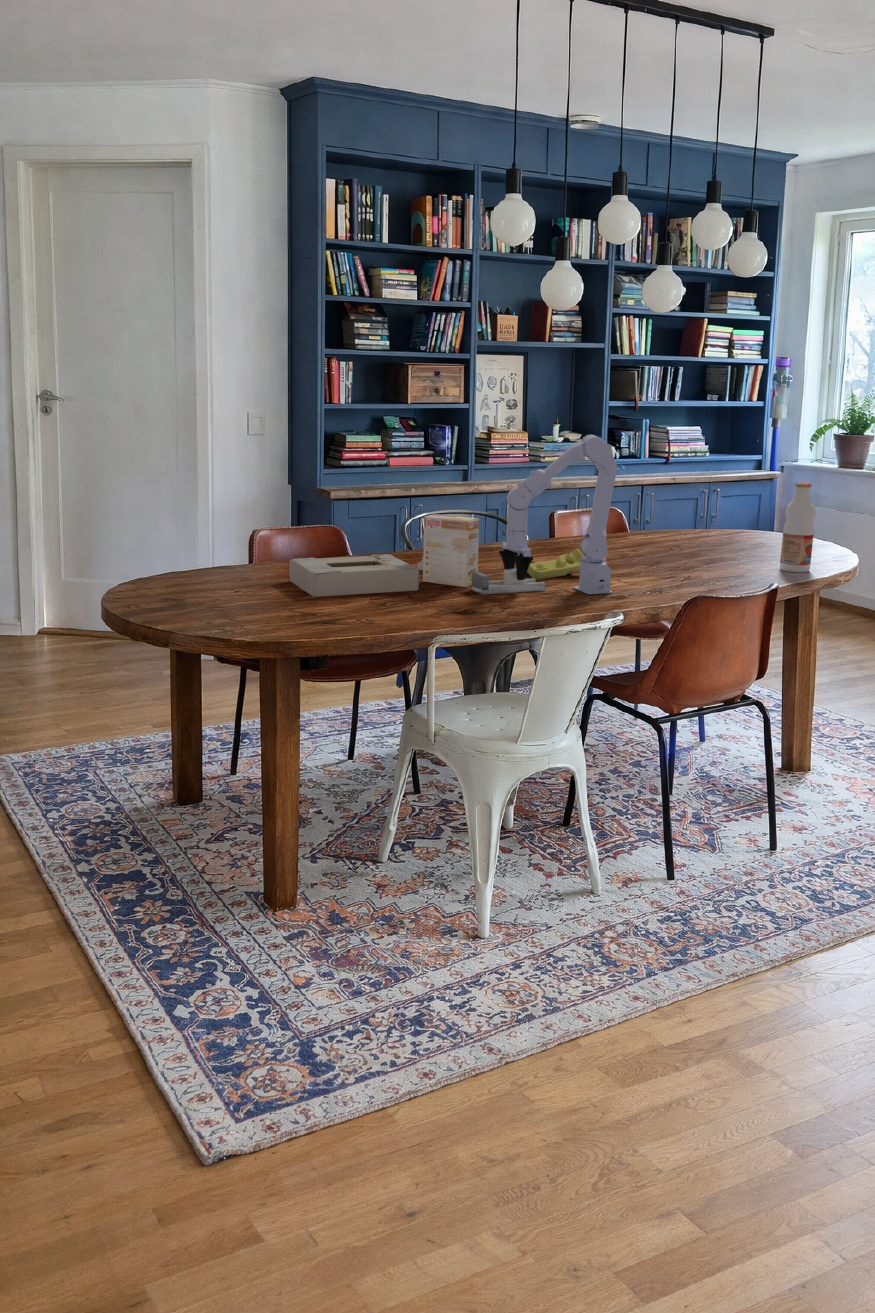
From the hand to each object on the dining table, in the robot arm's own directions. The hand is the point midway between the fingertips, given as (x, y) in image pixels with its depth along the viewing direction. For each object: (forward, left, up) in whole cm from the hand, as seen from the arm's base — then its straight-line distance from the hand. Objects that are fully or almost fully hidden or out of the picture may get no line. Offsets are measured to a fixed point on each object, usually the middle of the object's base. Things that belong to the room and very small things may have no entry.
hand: (515, 577), depth 338 cm
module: (0, 0, -2) cm, 2 cm away
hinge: (+32, +9, -4) cm, 33 cm away
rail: (0, +2, -4) cm, 4 cm away
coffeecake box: (+14, +14, -4) cm, 21 cm away
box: (+19, +42, -4) cm, 47 cm away
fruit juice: (+2, -102, -4) cm, 102 cm away
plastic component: (+17, -22, -4) cm, 28 cm away
